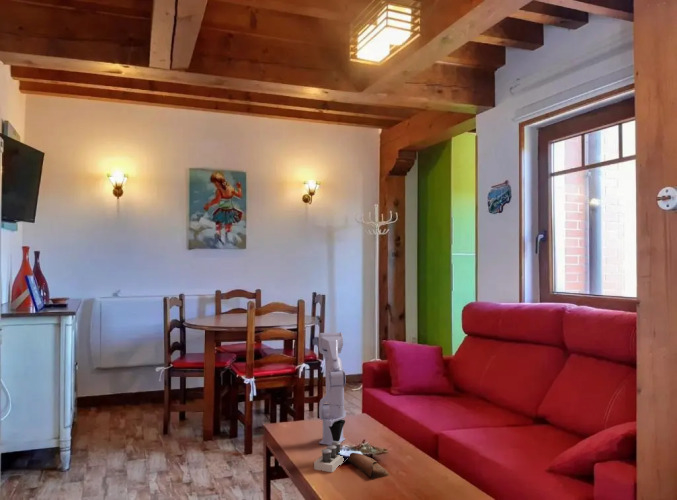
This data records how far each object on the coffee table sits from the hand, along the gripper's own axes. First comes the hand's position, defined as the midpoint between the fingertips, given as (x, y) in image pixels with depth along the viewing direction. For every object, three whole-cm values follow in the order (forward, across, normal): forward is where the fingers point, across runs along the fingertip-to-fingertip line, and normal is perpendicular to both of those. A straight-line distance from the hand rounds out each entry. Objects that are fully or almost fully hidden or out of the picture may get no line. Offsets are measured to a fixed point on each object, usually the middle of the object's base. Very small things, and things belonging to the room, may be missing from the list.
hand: (336, 440), depth 202 cm
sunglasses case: (+8, +4, +14) cm, 16 cm away
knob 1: (+4, +9, 0) cm, 10 cm away
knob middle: (+4, +4, 0) cm, 6 cm away
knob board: (+7, +4, 0) cm, 8 cm away
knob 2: (+4, 0, 0) cm, 4 cm away
